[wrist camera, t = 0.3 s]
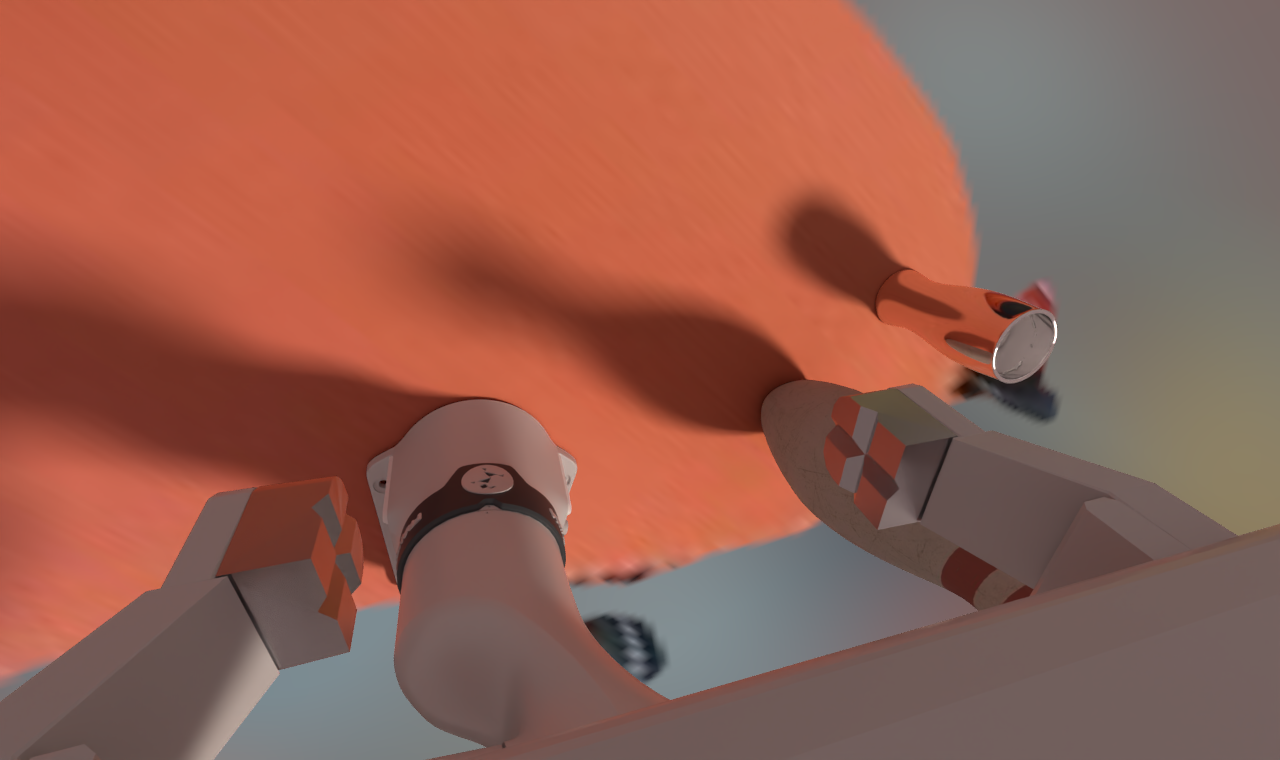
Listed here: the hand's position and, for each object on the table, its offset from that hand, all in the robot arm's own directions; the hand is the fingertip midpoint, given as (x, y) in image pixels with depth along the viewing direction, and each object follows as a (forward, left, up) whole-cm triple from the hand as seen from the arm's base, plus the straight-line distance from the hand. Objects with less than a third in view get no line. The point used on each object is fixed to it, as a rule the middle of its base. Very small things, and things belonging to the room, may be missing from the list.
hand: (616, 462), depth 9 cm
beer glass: (-5, -43, -39) cm, 58 cm away
